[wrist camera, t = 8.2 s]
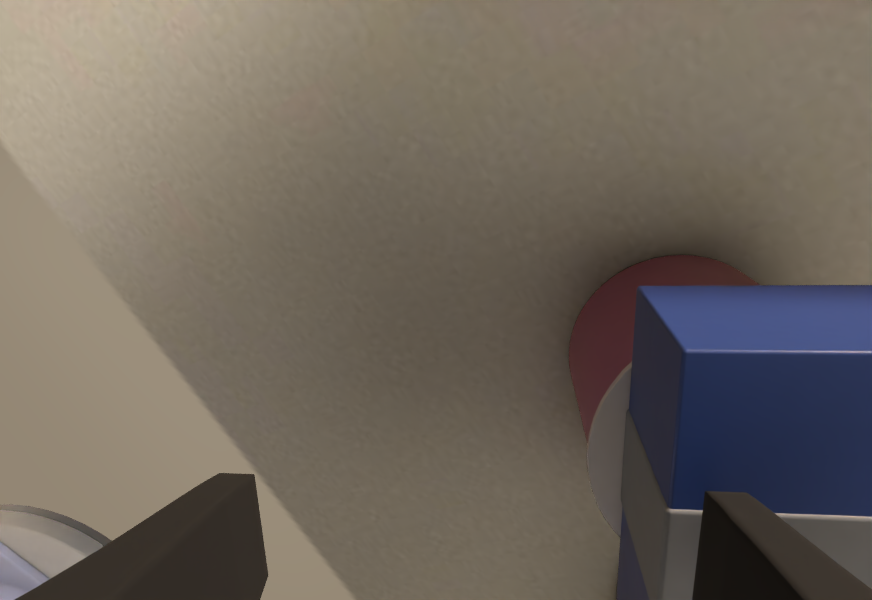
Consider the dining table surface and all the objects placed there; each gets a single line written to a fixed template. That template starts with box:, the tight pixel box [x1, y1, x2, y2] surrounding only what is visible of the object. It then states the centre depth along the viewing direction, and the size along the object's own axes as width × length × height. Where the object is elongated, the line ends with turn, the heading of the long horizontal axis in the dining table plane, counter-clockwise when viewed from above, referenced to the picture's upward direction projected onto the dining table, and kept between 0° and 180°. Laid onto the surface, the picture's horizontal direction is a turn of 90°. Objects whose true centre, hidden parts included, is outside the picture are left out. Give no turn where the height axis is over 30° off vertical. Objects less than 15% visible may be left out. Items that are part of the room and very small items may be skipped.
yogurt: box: [569, 255, 759, 537], centre depth 16 cm, size 7×7×6 cm
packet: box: [616, 285, 872, 600], centre depth 12 cm, size 8×5×4 cm, turn 2°
